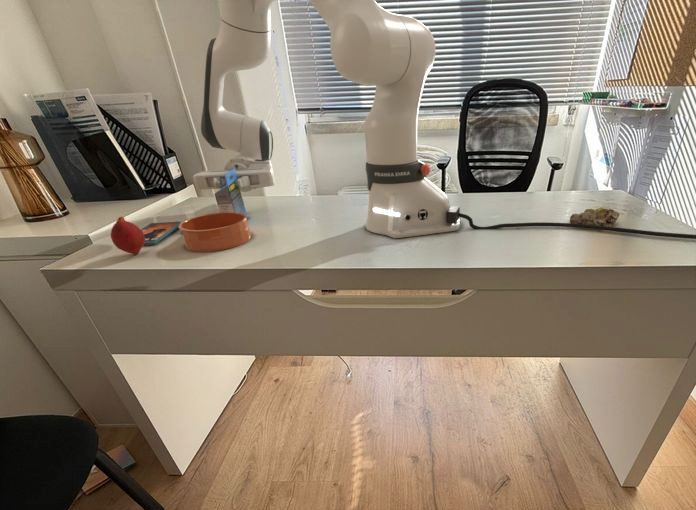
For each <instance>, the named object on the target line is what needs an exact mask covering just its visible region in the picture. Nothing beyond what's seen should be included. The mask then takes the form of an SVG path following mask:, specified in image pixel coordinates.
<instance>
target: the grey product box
mask: <svg viewBox="0 0 696 510" xmlns="http://www.w3.org/2000/svg"><path fill="white" fill-rule="evenodd" d="M230 176H233V178H232V179H231V180H230ZM225 179H226V183H227V185H226V186H224V187H223V188H221V189H218V191H216V192H215V193H214V197H215V201H216V204H217V207H218V211H219V213H223V212H236V213H242V214H244V215H246V218H247V219H248V214H247V211H246V207H245V204H244V199H243V196H242V192H240V188H236V187H235V184H234V180H235V179H237V177H236V171H235V168H234V169H233V170H231V171H229V172H228V173H226V174H225Z"/></svg>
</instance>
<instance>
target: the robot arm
mask: <svg viewBox="0 0 696 510" xmlns="http://www.w3.org/2000/svg"><path fill="white" fill-rule="evenodd" d="M274 1H275V0H219V20H220V23H219V24H220V25H219V31H218V34H217V36H216V37H214V38H211V39H210V41H209V43H208V46H207V50H206V56H205V57H206V58H205V67H204V70H205V71H204V84H203V85H204V86H203V87H204V88H203V104H202V105H203V106H202V113H201V120H200V132H201V135H202V138H204V140H205V141H206V143H208V145H210V146H211V147H212V148H215V149H219V150H220V149H221V150H227V151H233V152H235V153H239V154H238V155H236V156H234V157H232V158H231V159H229V160H227V162H226V163H225V165H224V169H210V170H209V169H208V170H203V171H200V172H198V173H195V174H193V176H192V177H193V182H194V185H195V187H196V189H197V190H200V191H201V190H220V189H221V188H223V187H224V186H226V185H227V183H226V179H225V174H226V173H228V172H229V171H231V170H233V169H234V168H235V171H236V177H237V179H235V180H234V184H235V187H236V188H240V192H241V193H248V192H251V191H252V190H253V191H255V190H257V189H260V188H267V187H273V186H275V185H276V184H277V183H276V177H275V172H274V167H273V165H272V162H271V159H272V158H273V157H272V156H273V150H274V137H273V133H272V131H271V129H270V127H269V126H268V124H267V123H266V122H265V120H262V119H259V118H256V117H253V116H249V115H243V114H240V113H236V112H233V111H229V110H227V109H226V108H225V107H224V106H223V99H224V89H225V78H226V75H228V74H230V73H232V72H239V71H248V70H251V69H255V68H257V67H259V66H261V65H263V63H264V62H265V61H266V60H267V59H268V57H269V55H270V53H271V46H272V45H271V43H272V16H271V15H272V13H271V11H272V4H273V2H274ZM295 1H298V2H299V0H295ZM308 1H309V3H310V4H311V6H312V7H313V8H314V9H315V11H316V12H317V13H318V15H319V16H320V17H321V19H323V21H324V23H325V24H326V26H327V28H328V31H329V32H330V38H329V39H330V41H329V48H330V55H331V60H332V62H333V65H334V67H335V70H336V71H337V73H339V75H340V76H341V77H342V78H343V79H345V80H347V81H350V82H352V83H354V84H358V85H361V86H366V87H375V93H374V98H373V102H372V105H371V108H370V110H369V112H368V114H367V115H366V117H365V118H364V119H365V120H364V124H363V126H364V128H363V129H364V138H365V139H364V140H365V152H366V162H365V182H366V187H367V190H368V207H367V218H366V222H365V228H366V230H367V231H369V232H371V233H374V234H377V235H383V236H384V235H385V236H387V237H390V238H394V239H401V238H402V239H403V238H409V237H416V236H424V235H425V236H426V235H432V234H440V233H449V232H455V231H458V230H460V228H461V220H460V218H462V219H465V220H467V221H468V224H469V227H470V228H472V229H474V230H496V229H503V228H522V227H523V228H525V227H558V228H559V227H560V228H578V229H587V230H588V229H590V230H598V231H606V232H617V233H626V234H635V235H642V236H643V235H645V236H651V237H652V236H653V237H664V238H677V239H688V240H689V239H691V240H696V234H693V233H691V234H690V233H677V232H663V231H653V230H644V229H643V230H642V229H634V228H625V227H618V226H612V227H608V226H598V225H587V224H573V223H570V222H545V221H544V222H543V221H541V222H538V221H537V222H513V223H512V222H511V223H508V222H507V223H498V224H494V225H487V226H479V225H476V224H474V222H473V218H472V217H471V216H470V215H468V214H466V213H461V206H458V205H457V206H456V205H455V206H454V205H451V204H450V199H449V197H448V195H447V194H446V193H445V192H444V191H443V190H441V189H440V188H439V187H438V186H436V184H434V183H433V182H432V181H430V179H428V178H427V176H428V175H429V174H430V173H431V170H432V169H431V167H430V166H429V164H427V163H425V162H423V161H422V160H419V159H418V117H419V110H420V104H421V98H422V95H423V90H424V85H425V82H426V78H427V77H428V74H429V72H430V71H431V70H432V68H433V65H434V62H435V59H436V42H435V38H434V36H433V32H431V30H430V29H429V27H427V26H426V25H424V24H423V23H422V21H420V20H418V19H417V18H415V17H413V16H410V15H405V14H400V13H399V14H398V13H393V12H390V11H388V10H386V9H385V8H383V7H382V6H380V5H379V4H378V2H377V1H376V0H308ZM232 178H233V176H230V180H231V179H232Z"/></svg>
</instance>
